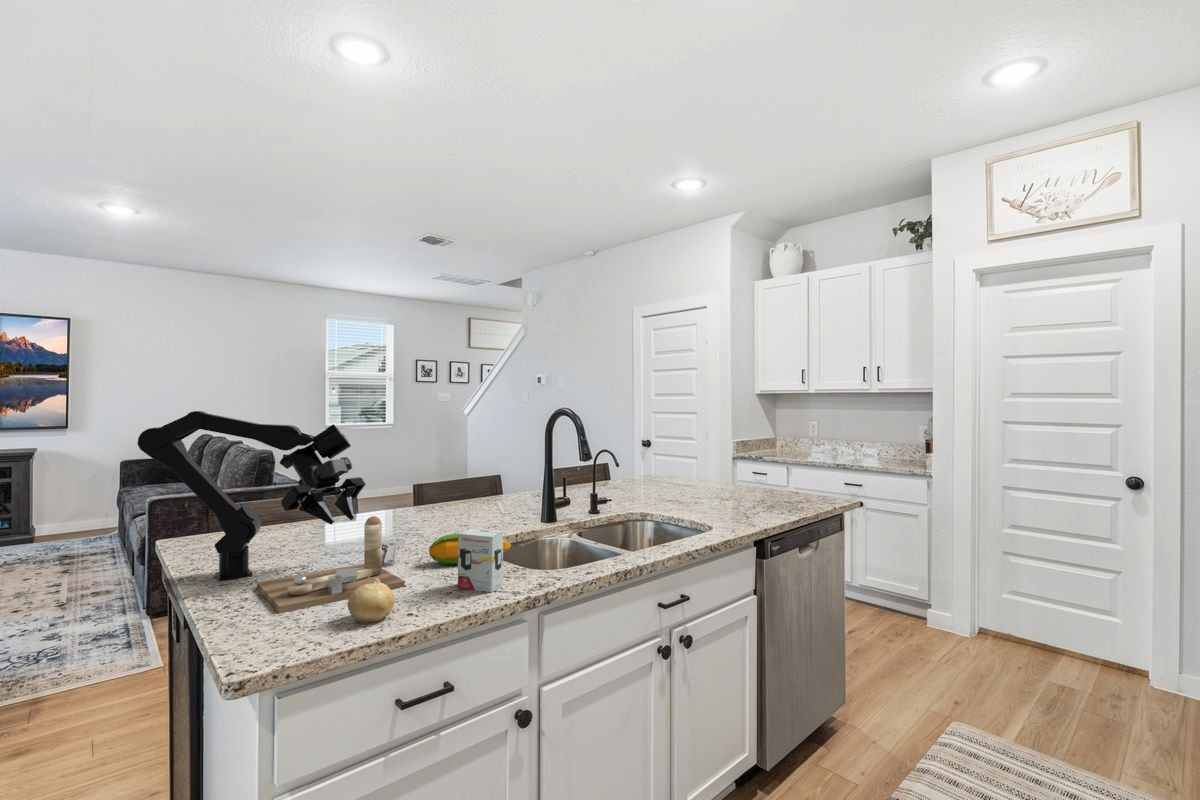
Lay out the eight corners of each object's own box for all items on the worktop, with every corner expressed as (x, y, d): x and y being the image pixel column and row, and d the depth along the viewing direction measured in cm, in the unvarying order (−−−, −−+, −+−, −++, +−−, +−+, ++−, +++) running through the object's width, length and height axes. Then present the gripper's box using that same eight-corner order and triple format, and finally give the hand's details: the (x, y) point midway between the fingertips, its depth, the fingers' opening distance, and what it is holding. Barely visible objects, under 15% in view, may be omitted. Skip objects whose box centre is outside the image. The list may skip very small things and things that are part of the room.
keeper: (292, 593, 116) (292, 577, 116) (354, 581, 124) (354, 566, 124) (302, 602, 110) (303, 586, 110) (367, 589, 118) (367, 573, 118)
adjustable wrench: (395, 568, 140) (395, 561, 140) (366, 570, 138) (366, 562, 138) (406, 543, 164) (406, 537, 164) (382, 545, 163) (382, 538, 163)
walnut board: (256, 588, 123) (256, 582, 123) (371, 567, 139) (371, 562, 139) (279, 613, 108) (279, 606, 108) (404, 586, 124) (404, 581, 124)
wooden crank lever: (294, 596, 113) (294, 532, 113) (283, 592, 115) (283, 529, 115) (386, 573, 129) (386, 516, 129) (374, 569, 131) (375, 514, 131)
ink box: (456, 588, 123) (456, 532, 123) (469, 582, 127) (469, 528, 127) (491, 593, 120) (491, 535, 120) (503, 586, 124) (503, 531, 124)
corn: (428, 530, 144) (508, 525, 150) (428, 560, 144) (508, 554, 151) (429, 539, 137) (513, 533, 143) (429, 570, 137) (513, 563, 144)
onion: (402, 618, 105) (402, 579, 105) (358, 630, 100) (358, 589, 100) (383, 607, 111) (383, 570, 111) (340, 618, 105) (340, 579, 105)
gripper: (290, 449, 126) (323, 503, 121) (360, 444, 143) (392, 492, 137) (266, 483, 129) (298, 537, 124) (338, 474, 146) (369, 522, 141)
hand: (342, 520), depth 132 cm, fingers open, 5 cm apart
